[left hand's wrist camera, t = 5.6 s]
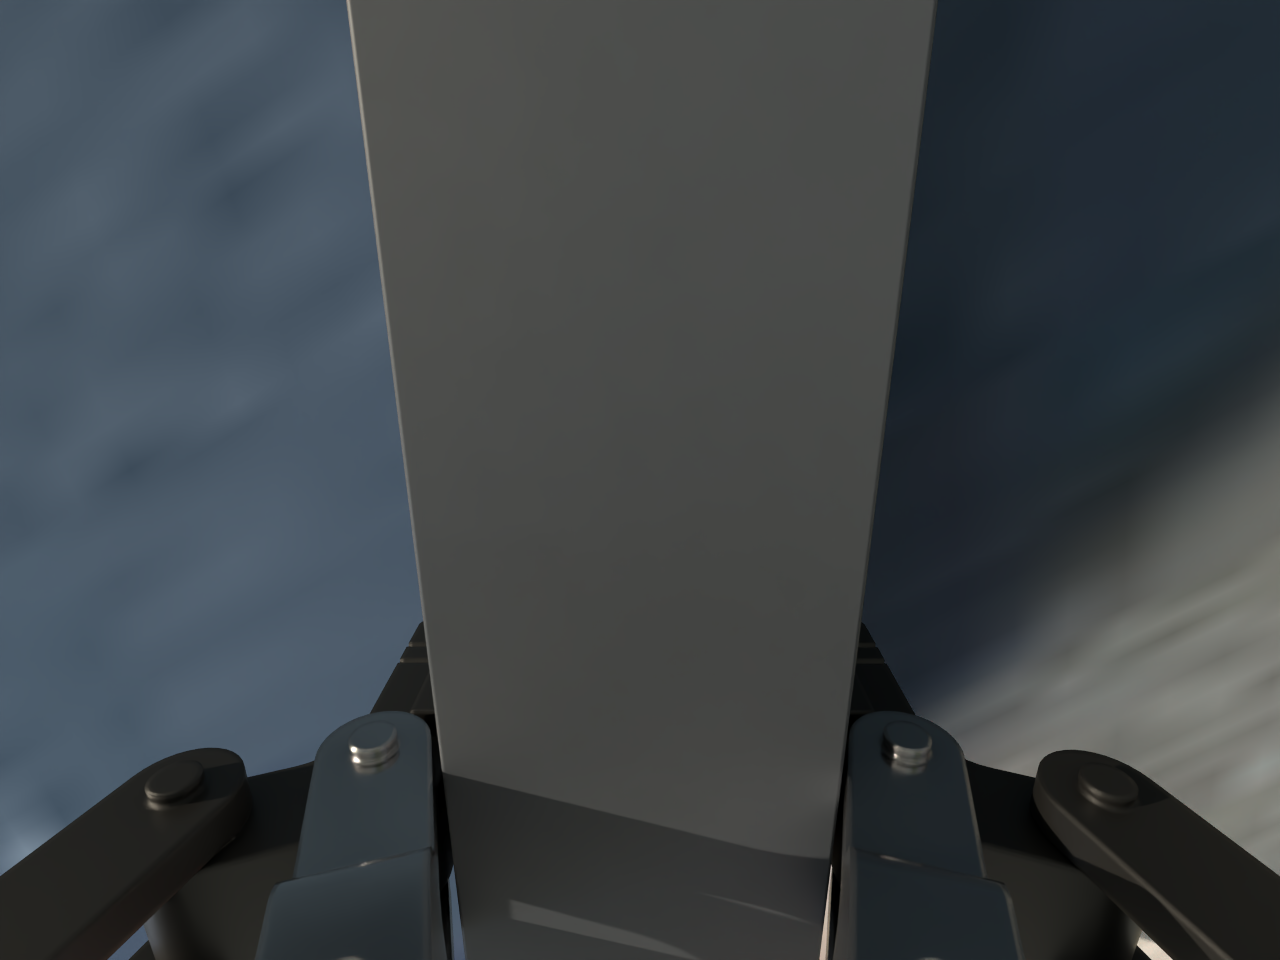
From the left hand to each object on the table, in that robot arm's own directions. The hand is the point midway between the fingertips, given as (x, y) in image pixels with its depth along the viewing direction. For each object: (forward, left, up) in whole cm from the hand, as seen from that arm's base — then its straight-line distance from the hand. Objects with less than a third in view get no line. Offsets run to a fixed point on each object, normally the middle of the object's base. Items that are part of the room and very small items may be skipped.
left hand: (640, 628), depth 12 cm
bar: (-21, +23, -2) cm, 31 cm away
